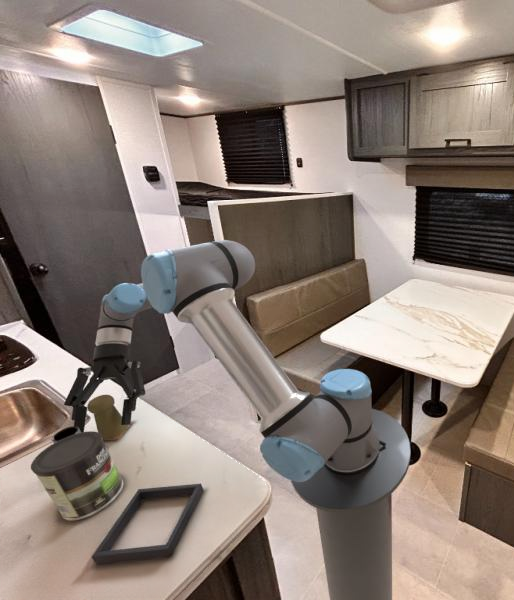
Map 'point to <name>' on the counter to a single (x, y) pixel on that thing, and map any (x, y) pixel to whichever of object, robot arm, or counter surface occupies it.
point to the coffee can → (78, 475)
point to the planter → (65, 433)
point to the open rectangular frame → (141, 553)
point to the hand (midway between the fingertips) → (102, 428)
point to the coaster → (119, 434)
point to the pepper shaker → (106, 416)
